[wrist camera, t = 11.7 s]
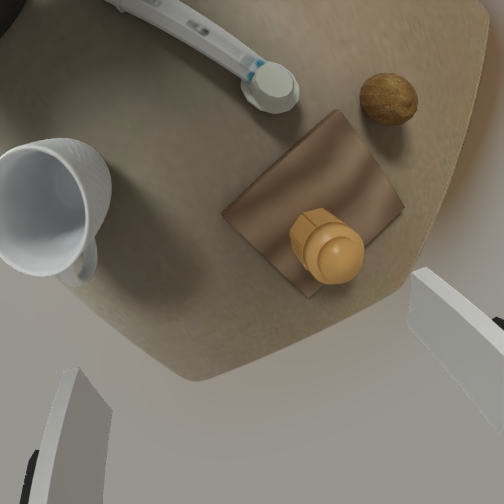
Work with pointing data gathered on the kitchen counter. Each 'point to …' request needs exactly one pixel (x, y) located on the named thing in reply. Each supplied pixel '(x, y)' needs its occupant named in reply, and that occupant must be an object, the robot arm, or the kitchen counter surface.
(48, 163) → the mug
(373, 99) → the fruit
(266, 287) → the kitchen counter surface
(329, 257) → the acorn cap nut
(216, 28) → the electric scrub brush
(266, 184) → the post board
